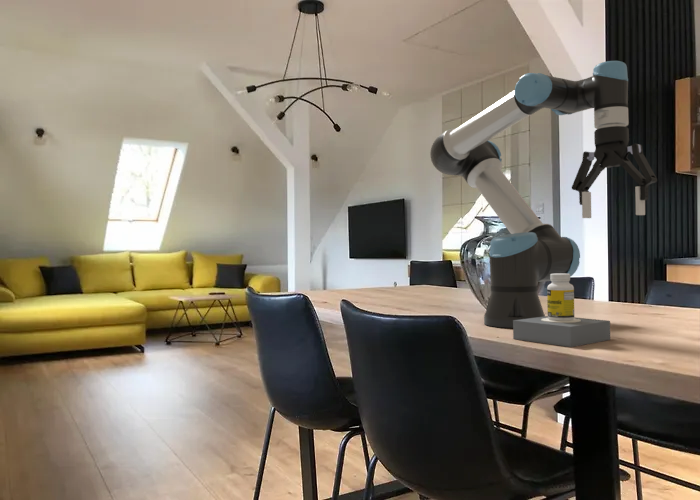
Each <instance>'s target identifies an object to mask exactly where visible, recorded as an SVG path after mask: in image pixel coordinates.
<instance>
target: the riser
mask: <svg viewBox="0 0 700 500" xmlns="http://www.w3.org/2000/svg"><path fill="white" fill-rule="evenodd" d="M512 331H513V333H512V337H513V338H512V339H513V340H519V341H524V342H533V343H539V344H540V343H541V344H545V345H553V346H559V347H566V348H567V347H568V348H572V347H573V348H574V347H579V346H585V345H588V344H589V345H590V344H594V343H595V344H596V343H599V342H606V341H611V320H607V319H606V320H605V319H596V318H594V319H593V318H586V317H585V318H584V317H576V316H574V320H570V321H555V320H549V319H548V315H545V316H544V317H536V318H528V319H521V320H513V328H512Z"/></svg>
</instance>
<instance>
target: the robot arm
mask: <svg viewBox="0 0 700 500" xmlns="http://www.w3.org/2000/svg"><path fill="white" fill-rule="evenodd" d="M628 77H629V76H628V67H627V64H626V63H625V62H623V61H620V60H607V61H604V62H600V63H598V64H596V65H595V66H594V67H593V71H592V76H589V77H586V78H583V79H580V80H579V79H578V80H572V79H567V78H566V79H565V78H561V77H556V76H552V75H549V74H544V73H540V72H538V73H537V72H528V73H527V72H526V73H525V74H523V75H521V77H519V80H518V81H517V82H516V84H515V87H514V90H512V91H511V92H509V93H508V94H507V95H505V96H504V97H502V98H501V99H499V100H497V101H496V102H495V103H492V105H490V106H488V107H487V108H485V109H484V110H482V111H481V112H479V113H477V114H476V115H475V116H473V117H472V118H470V119H468V120H467V121H465V122H464V123H462V124H461V125H459V126H458V127H455V128H454V127H452V128H448V129H447V130H445V131H443V132H442V133H440V135H438V136H437V137H436V138H435V140H434V141H433V143H432V145H431V147H430V152H429V153H430V161H431V163H432V165H433V167H435V169H436V170H437V171H438V172H440V173H442V174H444V175H449V176H459V177H462V178H463V179H464V181H465V182H466V184H468V186H469V187H471V188H473V189H477V190H478V191H479V192H480V194H481V196H483V197H484V198H483V199H485V201H486V202H487V203H488V205H489V207H490V208H491V209H492V210H493V212H494V213H495V214H496V216H497V217H498V218H499V219H500V221H501V223H502V224H503V225H504V226H505V228H506V230H508V232H509V233H507V234H500V235H497V236H495V237H492V238H491V240H490V243H489V252H488V253H489V279H490V296H489V299H488V302H487V306H486V311H485V313H484V315H483V323H484V325H486V326H488V327H497V328H508V329H513V320H521V319H528V318H536V317H544V316H546V314H544V309H543V305H542V303H541V300H540V297H539V294H538V293H539V291H538V289H539V288H538V282H540V283H541V282H552V281H551V279H550V274H555V273H564V274H570V278H571V277H572V276H573V275H574V274H575V273H576V272H577V271H578V269H579V267H580V258H581V252H580V248H579V246H578V244H577V243H576V242H575V240H574V239H572V238H570V237H567V236H561V235H560V234H559V233H558V231H557V230H556V229H555V227H553V225H551V224H550V223H543V222H542V220H541V219H540V218H539V217H538V215H537V214H536V213H535V212H534V210H533V209H532V208H531V207H530V206H529V204H528V203H527V202H526V200H525V199H524V198H523V197H522V195H521V194H520V193H519V191H518V190H517V189H516V187H515V186H514V185H513V183H511V181H510V180H509V178H508V177H507V176H506V175H505V174H504V172H503V171H502V167H503V164H502V162H503V161H502V158H501V157H502V153H501V150H500V148H499V147H498V145H496V143H495V142H493V141H491V139H492V138H494V137H496V136H498V135H499V134H501V133H503V132H504V131H506V130H507V129H509V128H511V127H513V126H514V125H516V124H518V123H519V122H521V121H523V120H525V119H526V118H528V117H529V116H530V117H531V115H534V114H535V113H537V112H538V111H540V110H543V109H548V110H551V111H552V112H553V113H554V114H555V115H556V116H565V115H572V114H576V113H579V112H583V111H587V110H591V109H593V115H594V116H593V118H594V120H593V121H594V124H593V125H594V126H593V127H594V128H595V131H594V133H593V134H594V147H595V149H594V151H587V150H586V151H583V153H582V161H581V163H580V166H579V167H578V170H577V173H576V176H575V178H574V181H573V183H572V185H571V190H573V191H576V192H578V195H579V197H578V198H579V199H578V200H579V201H578V202H579V205H580V206H581V212H582V213H581V214H582V215H581V217H582V219H592V192H591V191H589V190H590V188H591V187H592V185H593V184H594V183H595V182H596V180H597V179H598V177H599V176H600V174H601V173H602V172H603V171H605V169H606V168H607V169H610V168H613V167H616V168H618V167H622V168H623V169H624V171H625V172H627V173H628V174H629V175H630V177H631V178H632V179H633V180H634V181H635V182H636V184H637V186H635V189H634V190H635V215H636V216H645V215H646V201H648V200H649V187H650V185H652V184H655V183H657V182H658V178H657V176H656V174H655V173H654V171H653V168H652V167H651V166H650V164H649V162H648V159H647V158H646V156H645V155H644V150H643V144H638V143H633V144H632V145H630V146H629V141H630V138H629V137H630V134H629V128H628V126H629V123H630V122H629V103H628V101H629V94H628V93H629V92H628V91H629V78H628ZM629 154H631V155H632V157H634V159H635V161H636V164H637V166H638V167H639V169H640V171H641V172H640V171H639V169H637V168H636V167H635V165H634V164H633V162H631V160H630V159H629V158H628V156H629ZM595 159H596V160H595ZM594 160H595V162H594V163H593V161H594ZM591 166H592V168H591Z"/></svg>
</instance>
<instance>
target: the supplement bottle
mask: <svg viewBox="0 0 700 500" xmlns="http://www.w3.org/2000/svg"><path fill="white" fill-rule="evenodd" d="M550 279H551V281H550V282H551V283H549V284H548V285H547V287H546V293H547V294H546V296H547V297H546V299H547V300H546V301H547V304H546V305H547V316H548V319H549V320H555V321H570V320H574V317H575V287H574V285H573V284H572V283H570V281H571V277H570V274H564V273H555V274H550Z"/></svg>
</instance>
